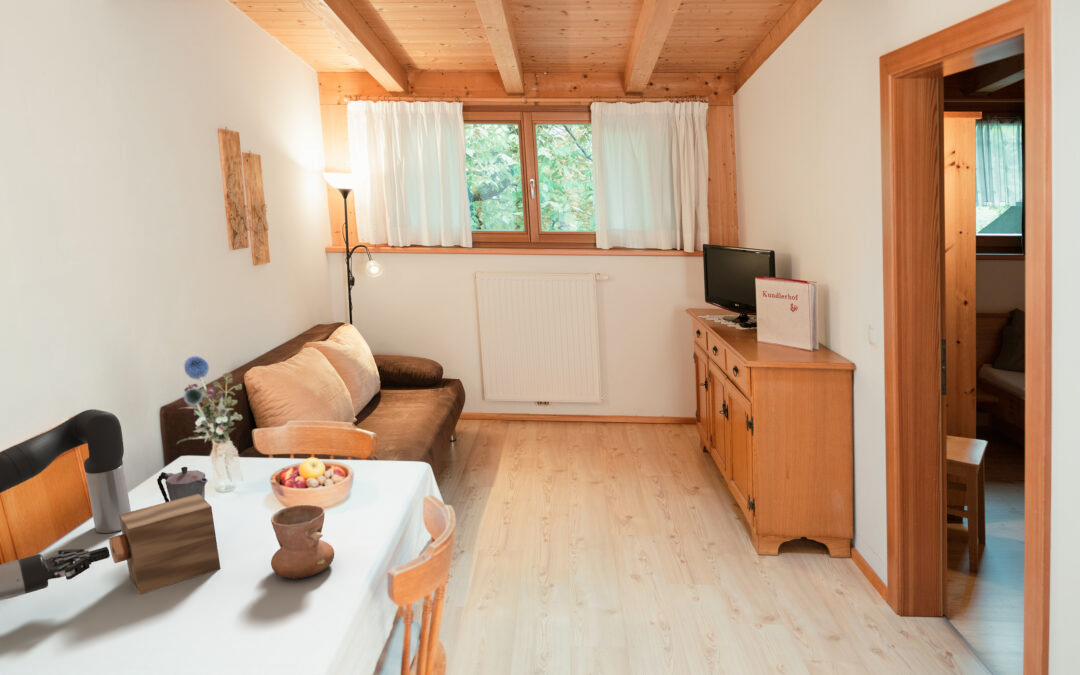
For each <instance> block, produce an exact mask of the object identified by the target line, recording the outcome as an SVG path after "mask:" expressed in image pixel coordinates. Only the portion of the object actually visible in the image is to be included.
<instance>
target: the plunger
mask: <svg viewBox="0 0 1080 675" xmlns="http://www.w3.org/2000/svg"><path fill="white" fill-rule="evenodd" d="M108 543H109V551H110V553H111V554H110V555H111V557H112V560H113V563H114V564H117V563H122V562H125V561H127V560H129V559H130V549H129V543H128V541H127V539H126V536H125V534H122V533H121V534H117V535H114V536H111V537H108Z"/></svg>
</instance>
